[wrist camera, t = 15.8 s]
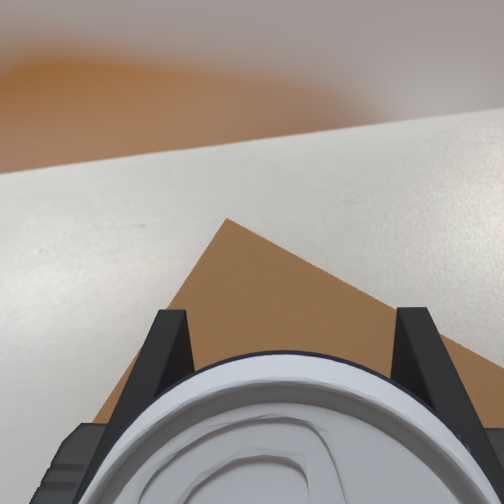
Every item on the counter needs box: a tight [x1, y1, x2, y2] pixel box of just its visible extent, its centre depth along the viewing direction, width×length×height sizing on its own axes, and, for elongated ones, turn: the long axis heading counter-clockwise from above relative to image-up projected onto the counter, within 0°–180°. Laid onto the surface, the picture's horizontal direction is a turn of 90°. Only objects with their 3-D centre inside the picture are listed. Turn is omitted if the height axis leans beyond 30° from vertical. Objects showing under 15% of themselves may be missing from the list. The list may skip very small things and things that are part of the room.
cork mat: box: [92, 218, 504, 428], centre depth 24 cm, size 20×18×1 cm
